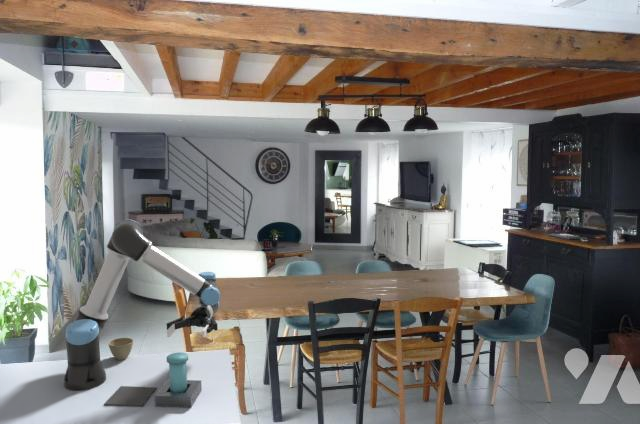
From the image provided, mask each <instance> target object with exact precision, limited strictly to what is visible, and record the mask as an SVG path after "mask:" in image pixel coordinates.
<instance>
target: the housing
mask: <svg viewBox="0 0 640 424" xmlns="http://www.w3.org/2000/svg"><path fill="white" fill-rule="evenodd" d="M202 388H203V387H202V380H198V379H197V380H193V379H191V380H188V379H187V391H186V392H185V393H178V392H170V379H166V380H165V382H164V383H163V385H162V386H161V387H160V389H159V390H158V391H157V392H156V394H155V395H154V406H155V407H158V408H159V407H161V408H187V409H188V408H192V407H193V406H194V404H195V403H196V401H197V399H198V397H199V396H200V394H201V392H202Z"/></svg>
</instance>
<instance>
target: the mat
mask: <svg viewBox="0 0 640 424" xmlns="http://www.w3.org/2000/svg"><path fill="white" fill-rule="evenodd" d="M157 387H158V386H134V385H133V386H132V385H131V386H126V385H121V386H119V387H118V388H117V389H116V391H115V392H114V393H113V394H112V395H111V396H110V397H109V398H108V399H107V400H106V401H105V402H104V403H103V406H105V407H106V406H107V407H108V406H109V407H111V406H112V407H135V408H136V407H138V408H139V407H140V408H141V407H144V405H145V404H146V403H147V401H149V399H150V398H151V396H153V394H155V391H156V390H157V389H158V388H157Z"/></svg>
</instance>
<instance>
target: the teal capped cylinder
mask: <svg viewBox="0 0 640 424" xmlns="http://www.w3.org/2000/svg"><path fill="white" fill-rule="evenodd" d="M188 361H189V354H188V353H186V352H172V353H170V354H168V355H167V356H166V363H168V367H169V373H168V374H169V380H170V392H178V393H185V392H186V391H187V380H188V377H187V371H188V370H187V362H188Z"/></svg>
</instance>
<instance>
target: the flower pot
mask: <svg viewBox="0 0 640 424" xmlns="http://www.w3.org/2000/svg"><path fill="white" fill-rule="evenodd" d="M133 344H134V339H132V338H129V337H119V338H115V339H114V338H113V339H112V340H110V341H108V348H109V351H110V353H111V355H112V356H113V357H114V359H115V360H121V361H122V360H125V359H127V358H128V357H129V356H130V354H131V351H132V349H133V346H134V345H133Z"/></svg>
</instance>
